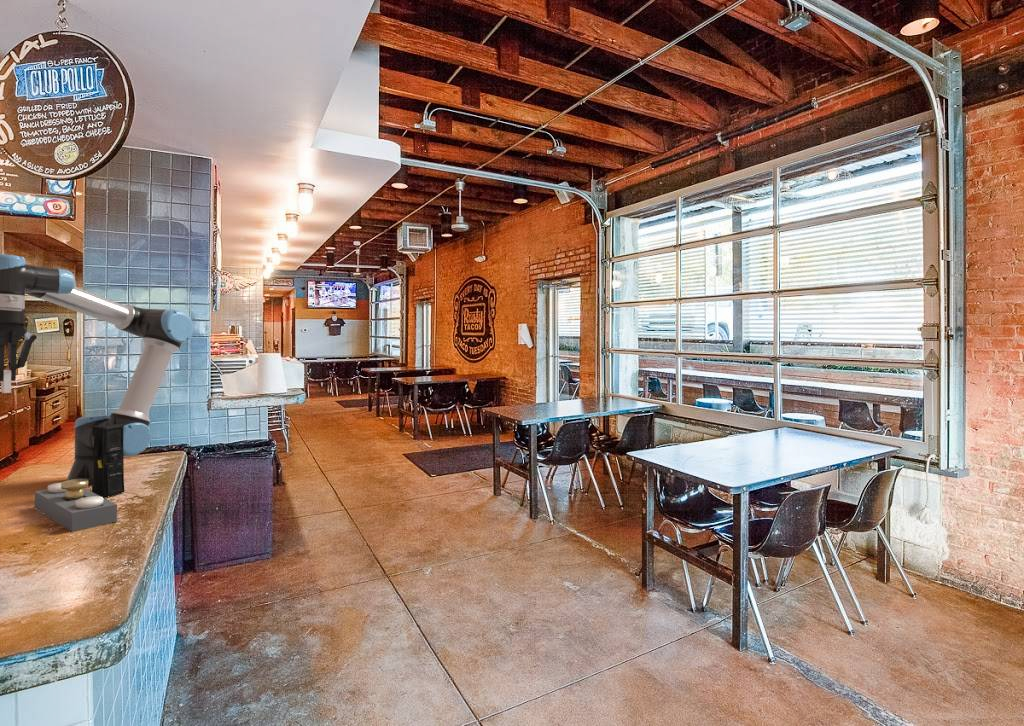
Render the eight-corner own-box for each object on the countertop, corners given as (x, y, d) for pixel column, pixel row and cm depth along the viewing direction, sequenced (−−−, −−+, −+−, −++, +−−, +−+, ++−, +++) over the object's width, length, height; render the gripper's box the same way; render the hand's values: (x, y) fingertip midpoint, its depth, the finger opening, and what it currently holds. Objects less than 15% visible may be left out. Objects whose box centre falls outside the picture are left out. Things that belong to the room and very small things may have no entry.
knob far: (98, 516, 149) (98, 495, 149) (106, 521, 145) (107, 499, 145) (71, 522, 144) (72, 499, 144) (79, 527, 140) (80, 504, 140)
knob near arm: (69, 501, 161) (70, 481, 161) (77, 505, 158) (77, 484, 157) (44, 505, 156) (44, 484, 156) (51, 509, 153) (51, 488, 152)
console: (76, 500, 163) (76, 484, 163) (116, 522, 147) (117, 504, 146) (34, 508, 155) (34, 491, 155) (71, 531, 138) (72, 513, 138)
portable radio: (103, 499, 165) (104, 420, 164) (87, 497, 167) (88, 419, 166) (126, 492, 173) (127, 417, 172) (111, 490, 174) (112, 416, 173)
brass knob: (83, 498, 155) (83, 477, 155) (91, 502, 151) (91, 481, 151) (57, 503, 150) (57, 481, 150) (65, 507, 146) (65, 485, 146)
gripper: (-22, 307, 141) (-23, 395, 142) (41, 311, 152) (40, 392, 153) (-30, 307, 146) (-30, 392, 146) (32, 311, 156) (31, 390, 157)
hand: (5, 392), depth 150 cm, fingers closed
